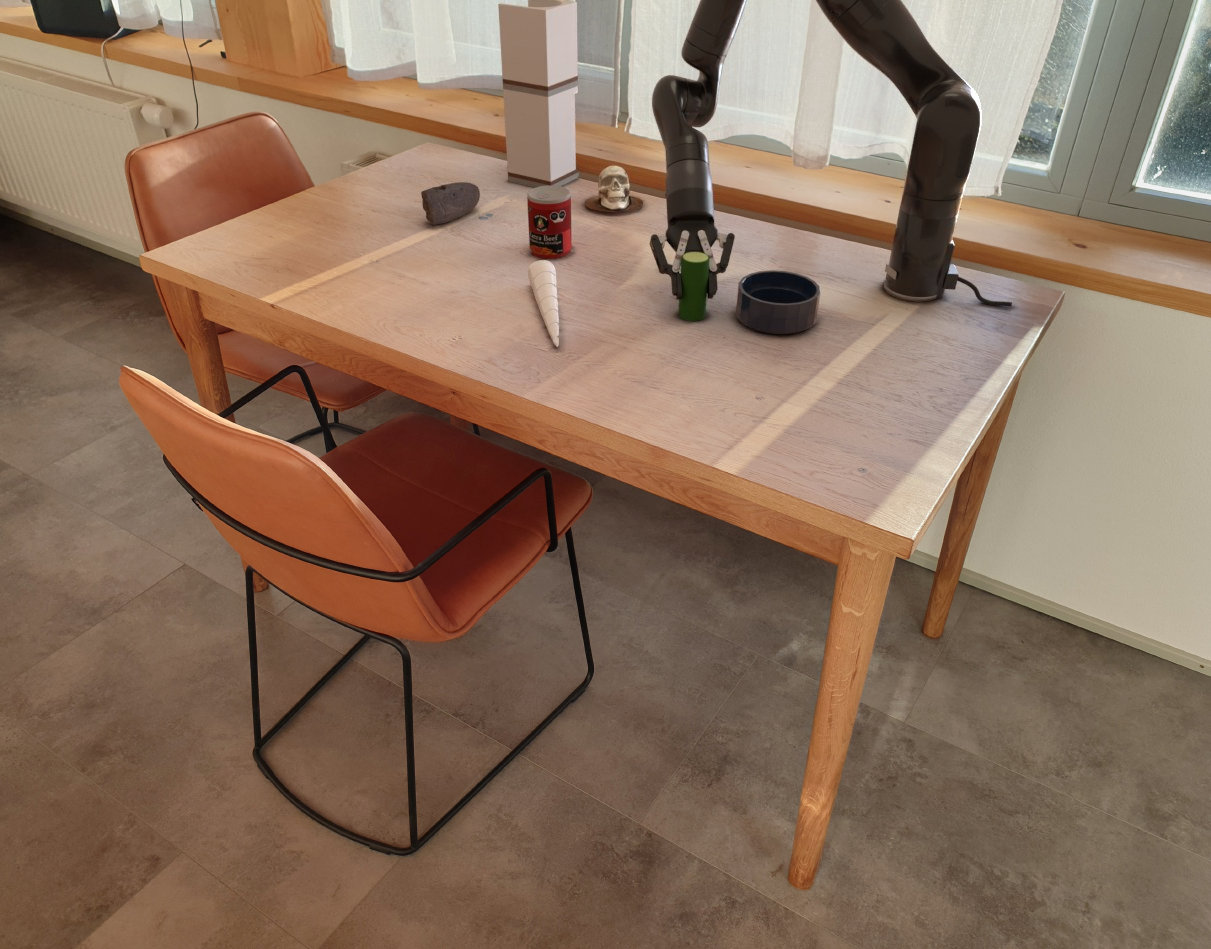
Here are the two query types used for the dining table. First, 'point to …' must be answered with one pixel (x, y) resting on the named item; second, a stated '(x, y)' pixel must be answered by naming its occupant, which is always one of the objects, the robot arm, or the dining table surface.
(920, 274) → the robot arm
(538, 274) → the unicorn horn
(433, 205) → the perforated stone tool
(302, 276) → the dining table surface
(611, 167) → the skull
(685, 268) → the cucumber
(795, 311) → the bowl
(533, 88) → the striped white pillar
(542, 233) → the canned food
